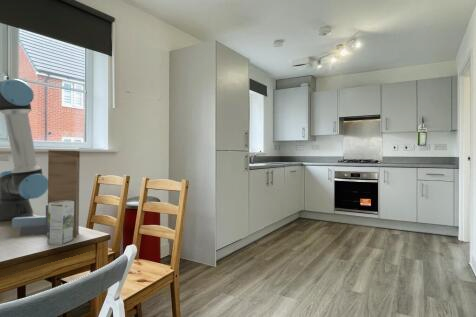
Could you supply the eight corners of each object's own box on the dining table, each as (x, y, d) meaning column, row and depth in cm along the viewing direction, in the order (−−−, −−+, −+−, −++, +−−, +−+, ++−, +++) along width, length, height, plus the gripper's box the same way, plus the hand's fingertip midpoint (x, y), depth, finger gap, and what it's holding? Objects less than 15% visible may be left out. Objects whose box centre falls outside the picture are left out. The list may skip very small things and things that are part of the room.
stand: (52, 234, 111) (53, 150, 111) (78, 232, 114) (79, 151, 115) (47, 240, 104) (48, 150, 104) (75, 237, 107) (76, 150, 107)
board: (25, 231, 115) (25, 223, 115) (65, 228, 121) (65, 221, 121) (19, 235, 109) (19, 227, 109) (62, 232, 114) (62, 225, 114)
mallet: (11, 227, 109) (11, 206, 109) (15, 225, 113) (15, 204, 113) (63, 224, 115) (63, 204, 115) (65, 222, 119) (65, 202, 119)
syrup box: (59, 239, 105) (59, 199, 105) (74, 240, 104) (74, 200, 104) (46, 244, 99) (47, 202, 99) (62, 245, 98) (63, 202, 98)
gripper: (-53, 165, 113) (13, 166, 121) (-96, 166, 90) (-11, 167, 98) (-52, 146, 113) (14, 149, 122) (-95, 142, 90) (-10, 145, 99)
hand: (3, 157), depth 110 cm, fingers open, 13 cm apart
